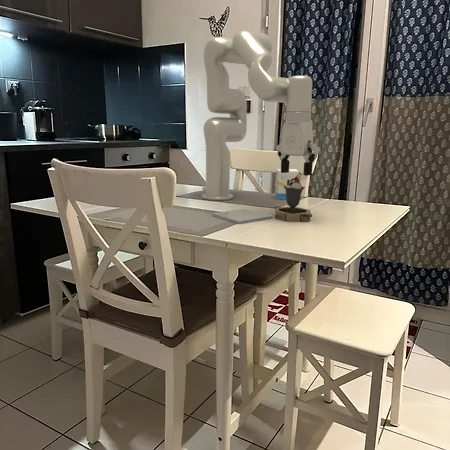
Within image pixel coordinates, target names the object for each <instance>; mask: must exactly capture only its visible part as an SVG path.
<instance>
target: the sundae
mask: <svg viewBox="0 0 450 450" xmlns="http://www.w3.org/2000/svg"><path fill="white" fill-rule="evenodd" d="M299 175H301V172H300V171H299ZM284 188H285V190H286V200H285V201H286V205H288V207H291V213H294V208H295V207H297V206H299V205H300V201H301V198H302V197H301V196H302V192H303V190H304V189H305V186H302V184H301V182H300V179H298V176H296V177H295V178H293V179H291V180H287V186H284Z"/></svg>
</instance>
